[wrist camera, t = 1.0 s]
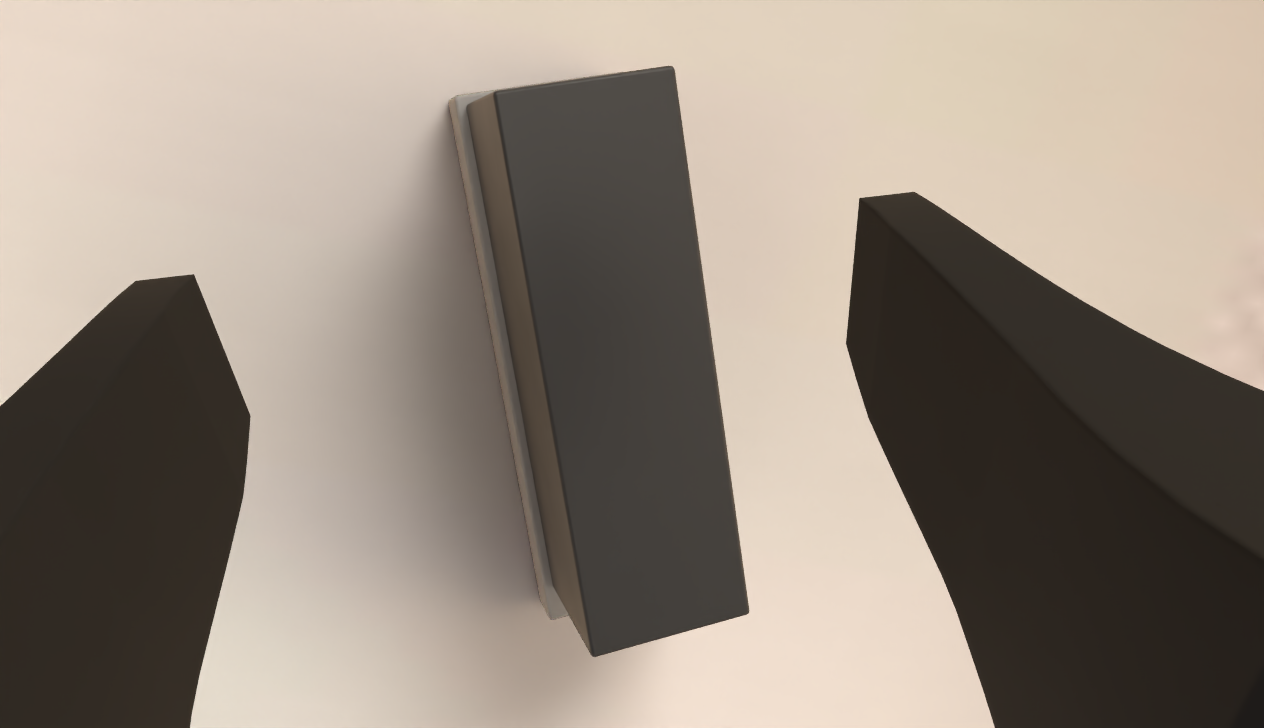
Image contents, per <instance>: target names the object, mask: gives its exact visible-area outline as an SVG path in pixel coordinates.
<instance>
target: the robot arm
mask: <svg viewBox="0 0 1264 728" xmlns="http://www.w3.org/2000/svg"><path fill="white" fill-rule="evenodd" d="M846 345H847V348H848V352H849V355H850V359H851V362H852V366H853V369H854V372H855V376H856V379H857V383H858V386H859V389H860V392H861V396H862V399H863V402H864V405H865V408H866V411H867V414H868V418H869V420H870V422H871V424H872V426H873V429H874V431H875V433H876V435H877V438H878V440H879V442H880V444H881V446H882V449H883V451H884V453H885V455H886V457H887V459H888V462H889V464H890V466H891V468H892V470H893V472H894V475H895V477H896V479H897V481H898V483H899V485H900V487H901V489H902V492H903V494H904V496H905V498H906V500H907V502H908V504H909V506H910V509H911V511H912V513H913V515H914V517H915V519H916V521H917V523H918V526H919V528H920V530H921V532H922V534H923V536H924V538H925V541H926V543H927V545H928V547H929V549H930V551H931V553H932V555H933V558H934V560H935V562H936V564H937V566H938V568H939V570H940V572H941V575H942V577H943V579H944V582H945V584H946V587H947V589H948V592H949V594H950V596H951V599H952V601H953V604H954V606H955V609H956V611H957V614H958V617H959V620H960V623H961V626H962V629H963V632H964V635H965V638H966V641H967V643H968V646H969V649H970V652H971V655H972V658H973V661H974V664H975V667H976V670H977V673H978V676H979V679H980V682H981V685H982V688H983V691H984V694H985V697H986V700H987V704H988V707H989V710H990V713H991V716H992V719H993V723H994V726H995V728H1264V391H1262V390H1260V389H1258V388H1255V387H1253V386H1250V385H1248V384H1246V383H1243V382H1241V381H1239V380H1236V379H1234V378H1232V377H1229V376H1227V375H1225V374H1223V373H1220V372H1218V371H1216V370H1214V369H1212V368H1210V367H1208V366H1206V365H1203V364H1201V363H1199V362H1197V361H1195V360H1193V359H1191V358H1189V357H1186V356H1184V355H1182V354H1180V353H1178V352H1176V351H1174V350H1172V349H1169V348H1167V347H1165V346H1163V345H1161V344H1159V343H1157V342H1156V341H1154V340H1152V339H1150V338H1148V337H1146V336H1144V335H1142V334H1140V333H1138V332H1136V331H1134V330H1133V329H1131V328H1129V327H1127V326H1125V325H1124V324H1122V323H1120V322H1118V321H1117V320H1115V319H1113V318H1111V317H1110V316H1108V315H1106V314H1104V313H1103V312H1101V311H1099V310H1097V309H1096V308H1094V307H1092V306H1090V305H1088V304H1087V303H1085V302H1083V301H1082V300H1080V299H1078V298H1077V297H1075V296H1073V295H1072V294H1070V293H1068V292H1067V291H1065V290H1064V289H1062V288H1060V287H1059V286H1057V285H1055V284H1054V283H1052V282H1051V281H1049V280H1047V279H1046V278H1044V277H1043V276H1041V275H1040V274H1038V273H1036V272H1035V271H1033V270H1032V269H1030V268H1029V267H1027V266H1026V265H1024V264H1023V263H1021V262H1020V261H1018V260H1017V259H1015V258H1014V257H1012V256H1011V255H1009V254H1008V253H1006V252H1005V251H1003V250H1002V249H1000V248H999V247H997V246H996V245H994V244H993V243H991V242H990V241H988V240H987V239H985V238H984V237H982V236H981V235H979V234H978V233H976V232H975V231H974V230H972V229H971V228H969V227H968V226H966V225H965V224H963V223H962V222H960V221H959V220H957V219H956V218H954V217H953V216H951V215H950V214H948V213H947V212H946V211H944V210H943V209H941V208H939V207H938V206H936V205H935V204H933V203H932V202H930V201H929V200H927V199H925V198H924V197H922V196H920V195H919V194H917V193H915V192H909V193H900V194H892V195H883V196H874V197H865V198H860V199H859V209H858V220H857V231H856V242H855V253H854V264H853V274H852V285H851V296H850V307H849V318H848V329H847V340H846ZM249 428H250V414H249V411H248V409H247V406H246V404H245V401H244V399H243V396H242V394H241V391H240V389H239V386H238V384H237V381H236V379H235V376H234V374H233V371H232V369H231V366H230V364H229V361H228V359H227V356H226V354H225V351H224V349H223V346H222V344H221V341H220V339H219V336H218V334H217V331H216V329H215V326H214V324H213V321H212V318H211V316H210V313H209V311H208V308H207V306H206V303H205V301H204V298H203V296H202V293H201V291H200V288H199V286H198V283H197V281H196V278H195V276H194V274H193V275H184V276H175V277H167V278H158V279H149V280H141V281H135V282H134V283H133V284H132V285H130V286H129V287H128V288H127V289H125V290H124V291H123V292H122V293H121V294H120V295H118V296H117V297H116V298H115V299H114V300H113V301H112V302H111V303H109V304H108V305H107V306H106V307H105V308H104V309H103V310H102V311H101V312H100V313H99V314H98V315H97V316H95V317H94V318H93V319H92V320H91V321H90V322H89V323H88V324H87V325H86V326H85V327H84V328H83V329H82V330H81V331H80V332H79V333H78V334H77V335H76V336H74V337H73V338H72V339H71V340H70V341H69V342H68V343H67V344H66V345H65V346H64V347H63V348H62V349H61V350H60V351H59V352H58V353H57V354H56V355H55V356H54V357H52V358H51V359H50V360H49V361H48V362H47V363H46V364H45V365H44V366H43V367H42V368H41V369H40V370H39V371H38V372H37V373H35V374H34V375H33V376H32V377H31V378H30V379H29V380H28V381H27V382H26V383H25V384H24V385H23V386H22V387H21V388H19V389H18V390H17V391H16V392H15V393H14V394H13V395H12V396H11V397H10V398H9V399H8V400H7V401H6V402H4V403H3V404H2V405H1V406H0V728H190V722H191V715H192V709H193V704H194V699H195V694H196V689H197V684H198V679H199V674H200V670H201V666H202V662H203V658H204V654H205V650H206V646H207V642H208V638H209V634H210V630H211V626H212V622H213V618H214V614H215V610H216V606H217V602H218V598H219V594H220V590H221V586H222V582H223V578H224V574H225V570H226V566H227V562H228V558H229V554H230V550H231V546H232V541H233V537H234V533H235V529H236V525H237V521H238V517H239V512H240V508H241V503H242V499H243V493H244V484H245V475H246V465H247V454H248V441H249Z"/></svg>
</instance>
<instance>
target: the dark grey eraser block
mask: <svg viewBox="0 0 1264 728" xmlns="http://www.w3.org/2000/svg"><path fill="white" fill-rule="evenodd" d="M449 108H450V113H451V119H452V124H453V130H454V135H455V141H456V146H457V151H458V157H459V162H460V168H461V173H462V178H463V184H464V189H465V195H466V200H467V206H468V211H469V216H470V222H471V227H472V233H473V238H474V243H475V249H476V254H477V260H478V265H479V271H480V276H481V281H482V287H483V292H484V298H485V303H486V309H487V314H488V319H489V325H490V330H491V336H492V341H493V346H494V352H495V357H496V363H497V368H498V374H499V379H500V384H501V390H502V395H503V401H504V406H505V411H506V417H507V422H508V428H509V433H510V439H511V444H512V449H513V455H514V460H515V466H516V471H517V476H518V482H519V487H520V493H521V498H522V504H523V509H524V514H525V520H526V525H527V531H528V536H529V542H530V547H531V552H532V558H533V563H534V569H535V574H536V579H537V585H538V590H539V596H540V601H541V603H542V605H543V607H544V608H545V610H546V612H547V614H548V616H549V618H550V619H551V620H554V619H557V618H561V617H565V616H570V618H571V620H572V621H573V623H574V625H575V627H576V629H577V630H578V632H579V634H580V636H581V638H582V639H583V641H584V643H585V645H586V647H587V648H588V650H589V652H590V654H591V655H592V656H593V657H596V656H600V655H604V654H607V653H611V652H614V651H618V650H621V649H625V648H629V647H632V646H636V645H639V644H643V643H646V642H650V641H654V640H657V639H661V638H664V637H668V636H671V635H675V634H679V633H682V632H686V631H689V630H693V629H696V628H700V627H704V626H707V625H711V624H714V623H718V622H721V621H725V620H729V619H732V618H736V617H739V616H743V615H746V614H748V613H749V606H748V598H747V591H746V584H745V577H744V569H743V562H742V555H741V548H740V540H739V533H738V526H737V519H736V511H735V504H734V497H733V490H732V482H731V475H730V468H729V461H728V453H727V446H726V439H725V432H724V424H723V417H722V410H721V403H720V395H719V388H718V381H717V374H716V366H715V359H714V352H713V345H712V338H711V330H710V323H709V316H708V309H707V301H706V294H705V287H704V280H703V272H702V265H701V258H700V251H699V243H698V236H697V229H696V222H695V214H694V207H693V200H692V193H691V185H690V178H689V171H688V164H687V156H686V149H685V142H684V135H683V127H682V120H681V113H680V106H679V98H678V91H677V84H676V77H675V70H674V68H673V67H672V66H664V67H657V68H650V69H643V70H636V71H629V72H618V73H611V74H604V75H597V76H590V77H583V78H576V79H569V80H562V81H555V82H548V83H541V84H534V85H527V86H520V87H513V88H506V89H499V90H492V91H485V92H478V93H471V94H464V95H457V96H455V97H454V98H452V99H450V100H449Z"/></svg>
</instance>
